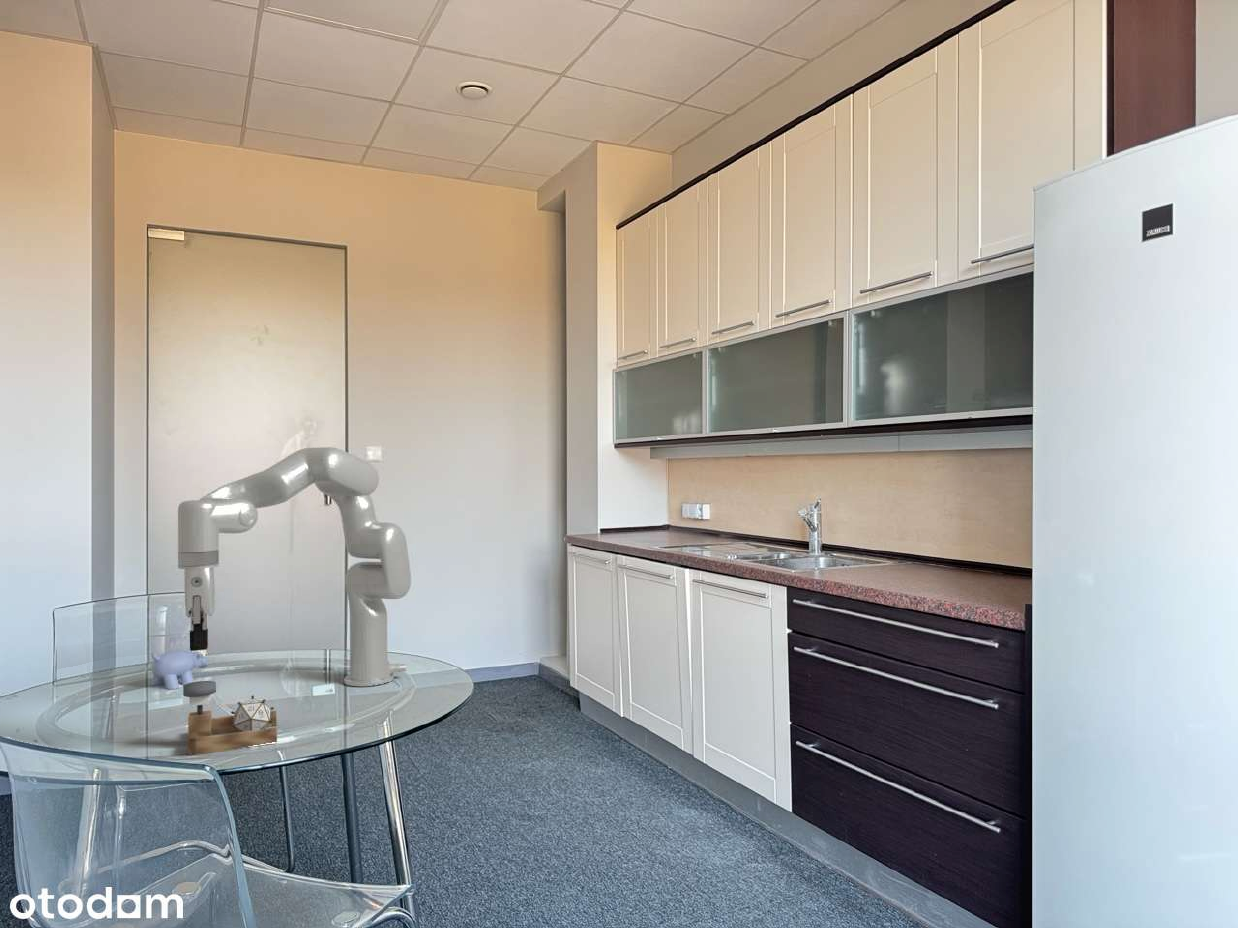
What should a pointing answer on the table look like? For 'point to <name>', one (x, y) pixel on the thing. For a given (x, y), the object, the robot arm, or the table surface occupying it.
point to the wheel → (199, 692)
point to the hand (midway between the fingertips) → (198, 649)
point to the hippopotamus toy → (176, 668)
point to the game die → (251, 715)
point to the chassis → (205, 726)
